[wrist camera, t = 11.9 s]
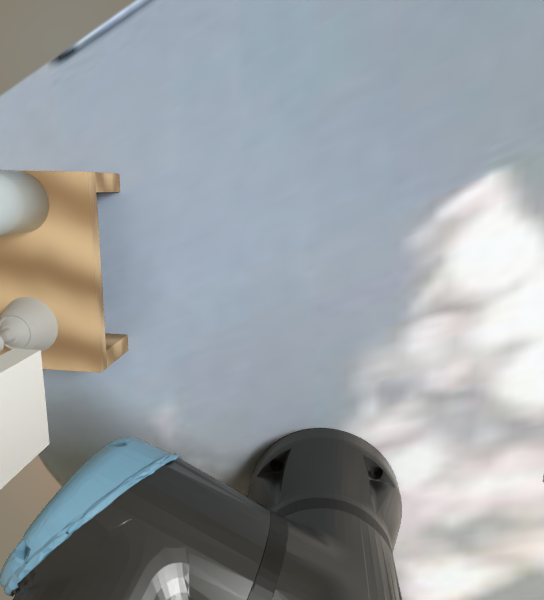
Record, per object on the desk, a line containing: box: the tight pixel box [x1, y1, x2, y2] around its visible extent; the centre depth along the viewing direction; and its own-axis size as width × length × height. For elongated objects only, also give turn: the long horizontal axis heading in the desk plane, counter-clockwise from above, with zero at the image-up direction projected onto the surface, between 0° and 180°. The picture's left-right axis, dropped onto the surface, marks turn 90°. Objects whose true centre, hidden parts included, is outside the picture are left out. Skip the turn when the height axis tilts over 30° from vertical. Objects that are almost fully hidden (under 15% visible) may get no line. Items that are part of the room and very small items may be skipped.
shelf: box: [0, 171, 128, 372], centre depth 44 cm, size 17×12×6 cm
